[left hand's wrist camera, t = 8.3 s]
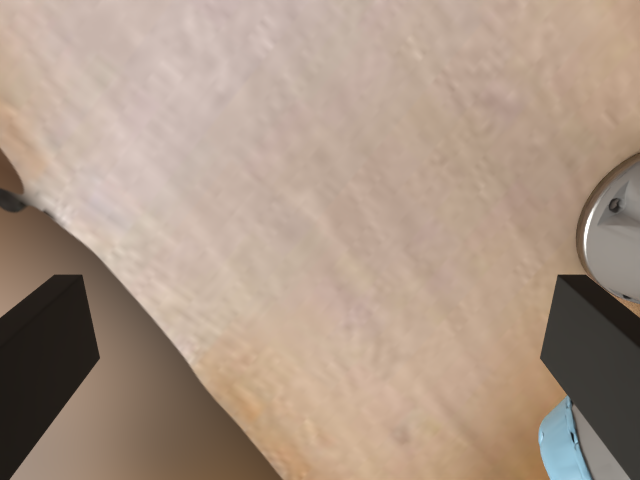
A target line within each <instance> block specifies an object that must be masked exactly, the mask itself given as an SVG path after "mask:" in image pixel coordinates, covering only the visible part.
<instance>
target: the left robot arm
mask: <svg viewBox="0 0 640 480" xmlns="http://www.w3.org/2000/svg"><path fill="white" fill-rule="evenodd" d="M576 247H577V253H578V256H579V259H580V262H581V264H582V266H583V268H584V270H585V271H586V272H587V274H588V275H589V276H590V277H591V278H592V279H593V280H594V281H595V282H597V283H598V284H599V285H600V286H602V287H603V288H604V289H605V290H607V291H608V292H610V293H611V294H613V295H615V296H617V297H619V298H622V299H624V300H627V301H630V302H634V303H638V304H640V153H639V154H637V155H635V156H633V157H631V158H629V159H627V160H626V161H624V162H623V163H621V164H620V165H618V166H617V167H616V168H614V169H613V170H612V171H611V172H610V173H609V174H608V175H606V176H605V177H604V178H603V179H602V181H601V182H600V183H599V184H598V185H597V186H596V188H595V189H594V190H593V192H592V193H591V195H590V196H589V198H588V199H587V201H586V203H585V205H584V207H583V210H582V212H581V215H580V218H579V221H578V225H577V232H576ZM592 279H590V278H589V277H588V276H587V275H558V276H557V281H556V286H555V290H554V295H553V300H552V304H551V309H550V314H549V319H548V323H547V328H546V333H545V337H544V342H543V347H542V351H541V356H540V359H541V360H542V361H543V363H544V364H545V365H546V367H547V368H548V370H549V371H550V372H551V374H552V375H553V376H554V378H555V379H556V380H557V382H558V383H559V384H560V386H561V387H562V388H563V390H564V391H565V392H566V394H567V396H566V397H565V398H564V399H563V400H562V401H561V402H560V403H559V404H558V405H557V406H556V407H555V408H554V409H553V410H552V411H551V412H550V413H549V414H548V415H547V416H546V417H545V418H544V419H543V421H542V423H541V425H540V428H539V445H540V451H541V456H542V460H543V463H544V466H545V468H546V471H547V473H548V475H549V478H550V480H640V318H639V317H638V316H637V315H635V314H634V313H633V312H632V311H630V310H629V309H628V308H627V307H625V306H624V305H623V304H622V303H620V302H619V301H618V300H617V299H615V298H614V297H613V296H612V295H610V294H609V293H608V292H607V291H605V290H604V289H603V288H602V287H600V286H599V285H598V284H597V283H595V282H594V281H593V280H592ZM99 359H100V356H99V351H98V347H97V342H96V338H95V333H94V328H93V323H92V319H91V314H90V309H89V304H88V300H87V295H86V290H85V286H84V281H83V276H82V275H53V276H52V277H51V278H50V279H48V280H47V281H46V282H45V283H43V284H42V285H41V286H40V287H38V288H37V289H36V290H35V291H33V292H32V293H31V294H30V295H28V296H27V297H26V298H25V299H23V300H22V301H21V302H20V303H18V304H17V305H16V306H15V307H13V308H12V309H11V310H10V311H8V312H7V313H6V314H5V315H3V316H2V317H1V318H0V480H10V478H11V477H12V475H13V474H14V473H15V471H16V470H17V469H18V467H19V466H20V465H21V463H22V462H23V461H24V459H25V458H26V457H27V455H28V454H29V453H30V451H31V450H32V449H33V447H34V446H35V445H36V443H37V442H38V441H39V439H40V438H41V437H42V435H43V434H44V433H45V431H46V430H47V429H48V427H49V426H50V425H51V423H52V422H53V420H54V419H55V418H56V416H57V415H58V414H59V412H60V411H61V410H62V408H63V407H64V406H65V404H66V403H67V402H68V400H69V399H70V398H71V396H72V395H73V394H74V392H75V391H76V390H77V388H78V387H79V386H80V384H81V383H82V382H83V380H84V379H85V378H86V376H87V375H88V374H89V372H90V371H91V369H92V368H93V367H94V365H95V364H96V363H97V361H98V360H99Z"/></svg>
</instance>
